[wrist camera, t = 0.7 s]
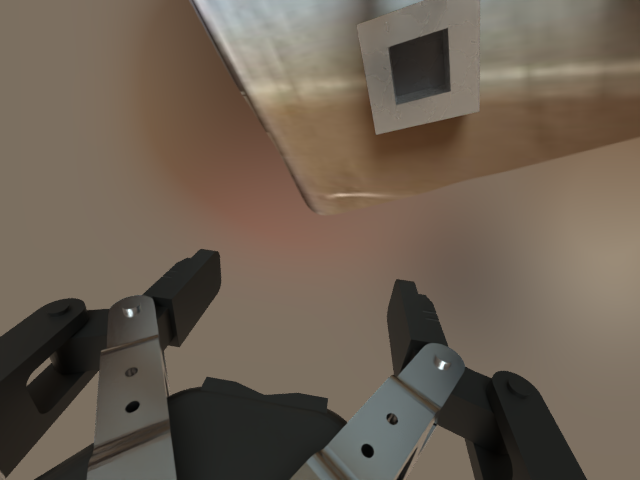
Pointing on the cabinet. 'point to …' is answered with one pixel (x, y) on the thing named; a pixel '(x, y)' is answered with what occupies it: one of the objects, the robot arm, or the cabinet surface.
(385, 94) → the chuck block
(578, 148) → the cabinet surface
